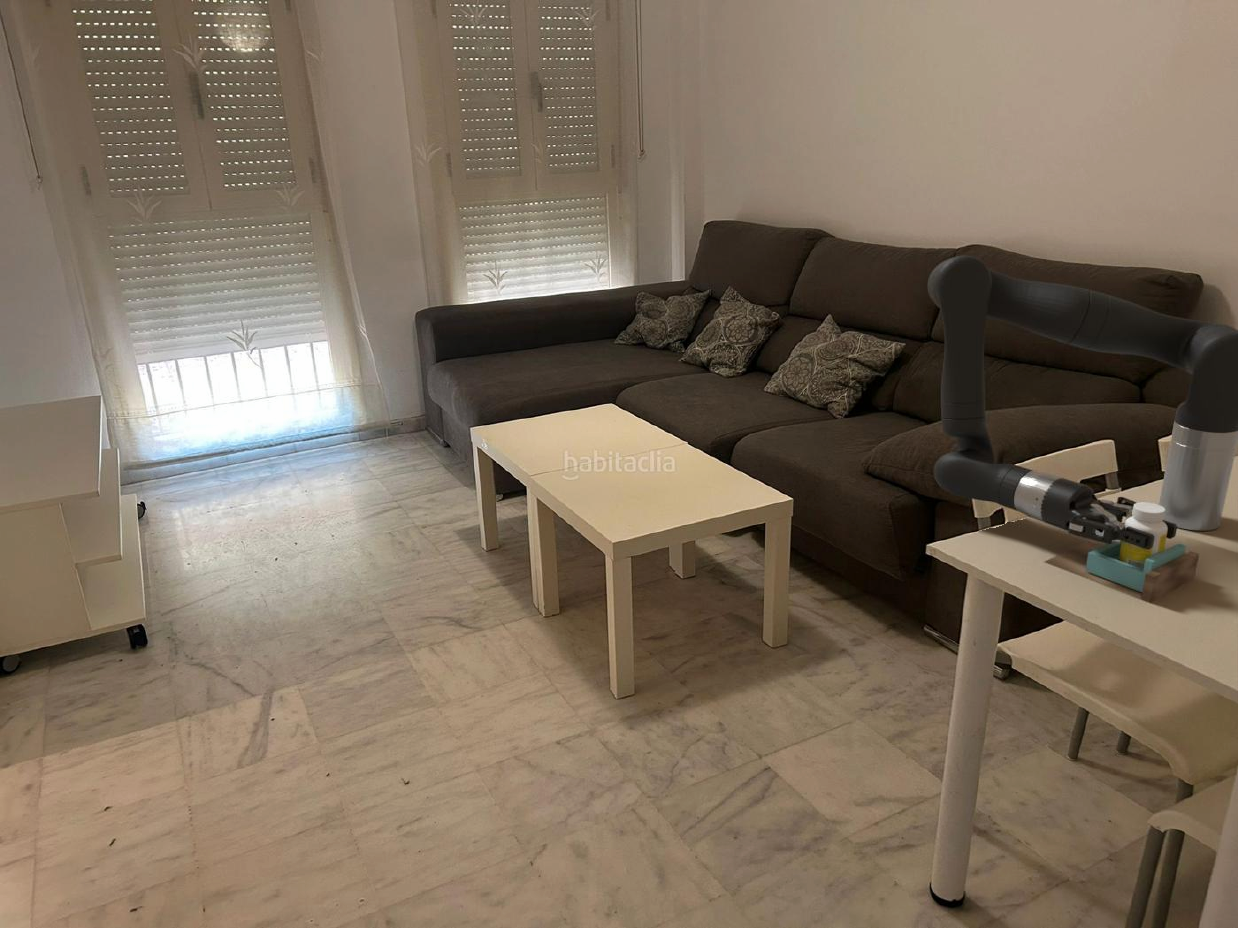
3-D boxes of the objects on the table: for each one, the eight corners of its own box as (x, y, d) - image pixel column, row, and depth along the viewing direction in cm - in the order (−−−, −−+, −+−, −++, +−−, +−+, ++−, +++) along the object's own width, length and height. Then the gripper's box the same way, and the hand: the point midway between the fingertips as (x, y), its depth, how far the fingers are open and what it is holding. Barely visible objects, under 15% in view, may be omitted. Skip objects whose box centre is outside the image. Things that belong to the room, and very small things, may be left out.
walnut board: (1087, 550, 144) (1092, 518, 142) (1192, 587, 131) (1199, 553, 129) (1042, 570, 138) (1047, 537, 136) (1147, 612, 125) (1154, 576, 123)
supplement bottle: (1145, 559, 134) (1157, 499, 130) (1167, 576, 129) (1180, 514, 125) (1109, 560, 134) (1120, 500, 130) (1130, 577, 128) (1142, 515, 125)
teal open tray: (1119, 554, 138) (1124, 525, 136) (1179, 576, 131) (1186, 545, 129) (1085, 570, 133) (1090, 540, 132) (1146, 594, 126) (1152, 562, 124)
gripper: (1028, 488, 135) (1141, 525, 122) (1083, 468, 143) (1195, 501, 129) (1022, 533, 138) (1131, 574, 125) (1076, 511, 145) (1185, 548, 132)
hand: (1163, 537), depth 127 cm, fingers closed on supplement bottle, 5 cm apart
